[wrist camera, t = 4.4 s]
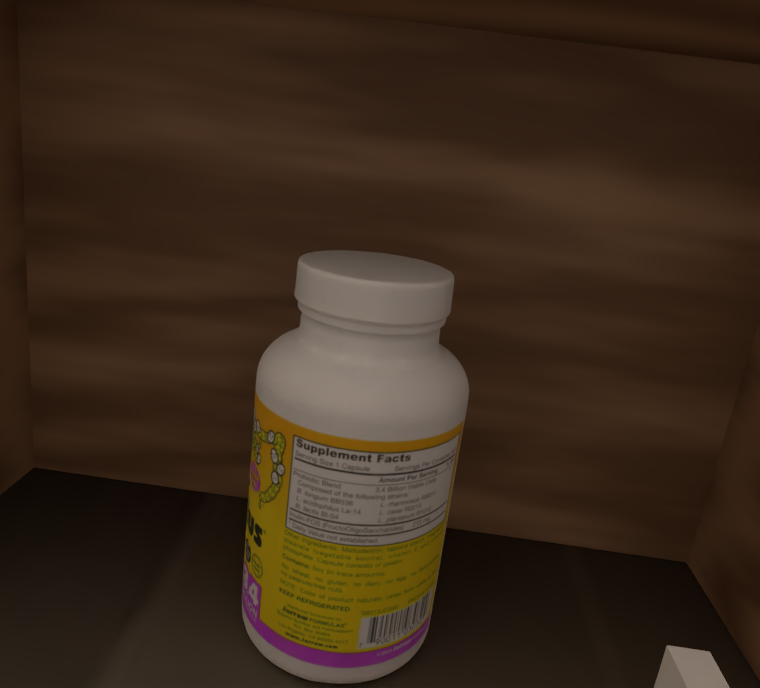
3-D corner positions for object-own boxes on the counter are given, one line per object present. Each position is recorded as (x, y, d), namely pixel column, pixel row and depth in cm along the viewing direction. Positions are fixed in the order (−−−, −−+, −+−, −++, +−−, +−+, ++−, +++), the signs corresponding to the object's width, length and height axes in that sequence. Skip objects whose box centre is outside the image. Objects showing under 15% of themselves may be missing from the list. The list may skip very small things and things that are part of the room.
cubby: (866, 812, 19) (1251, -29, 12) (-212, 644, 20) (-364, -215, 13) (697, 554, 30) (851, 55, 24) (27, 457, 31) (6, -48, 25)
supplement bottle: (272, 548, 27) (299, 234, 23) (433, 580, 26) (488, 262, 23) (208, 671, 21) (230, 266, 17) (418, 717, 20) (490, 306, 16)
